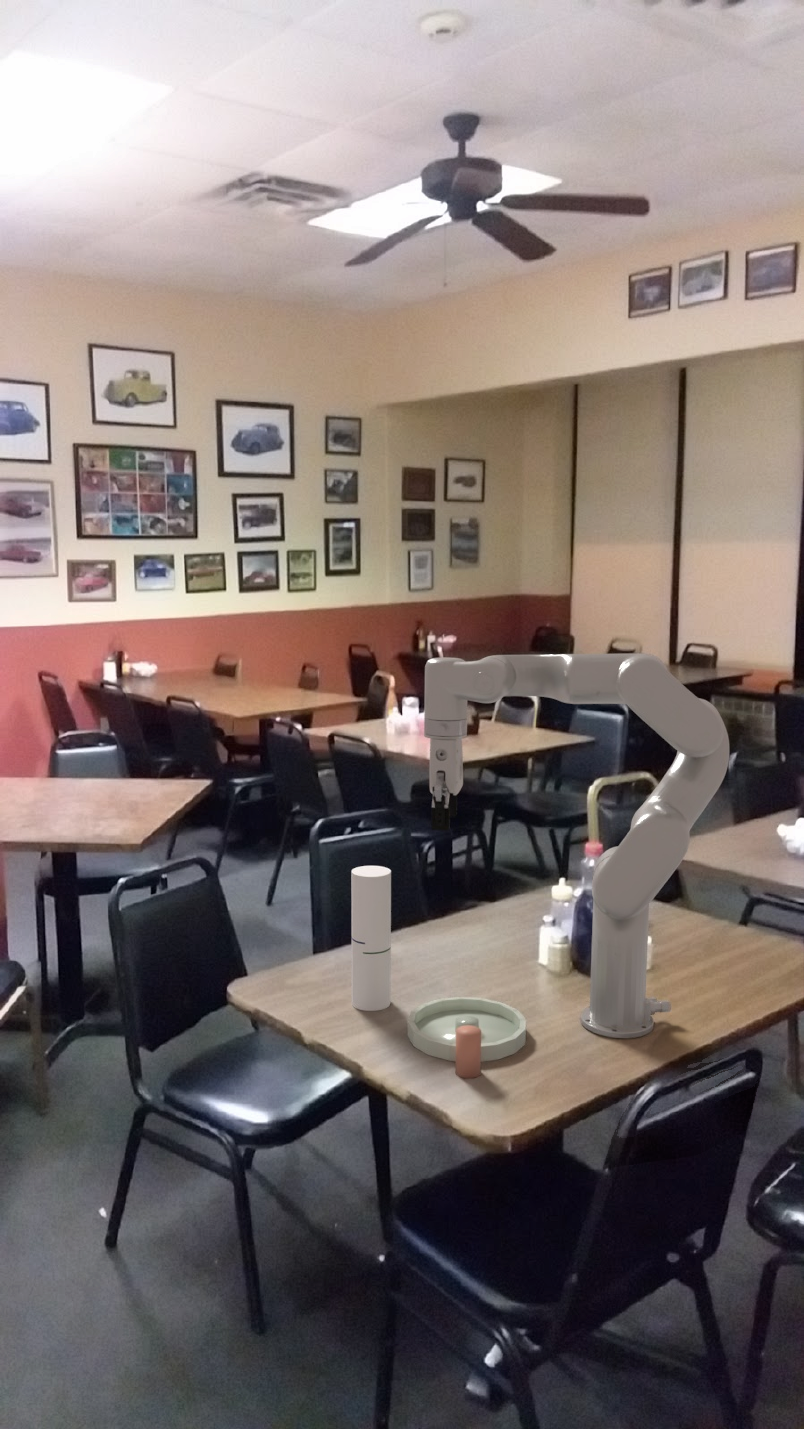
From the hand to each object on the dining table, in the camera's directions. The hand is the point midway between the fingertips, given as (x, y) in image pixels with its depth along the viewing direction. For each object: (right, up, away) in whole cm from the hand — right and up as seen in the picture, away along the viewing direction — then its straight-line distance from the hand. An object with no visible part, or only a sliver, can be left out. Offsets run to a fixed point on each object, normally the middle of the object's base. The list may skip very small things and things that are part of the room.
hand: (444, 823), depth 190 cm
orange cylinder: (+3, -38, -20) cm, 43 cm away
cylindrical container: (-13, -34, +6) cm, 37 cm away
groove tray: (+4, -36, -7) cm, 36 cm away
